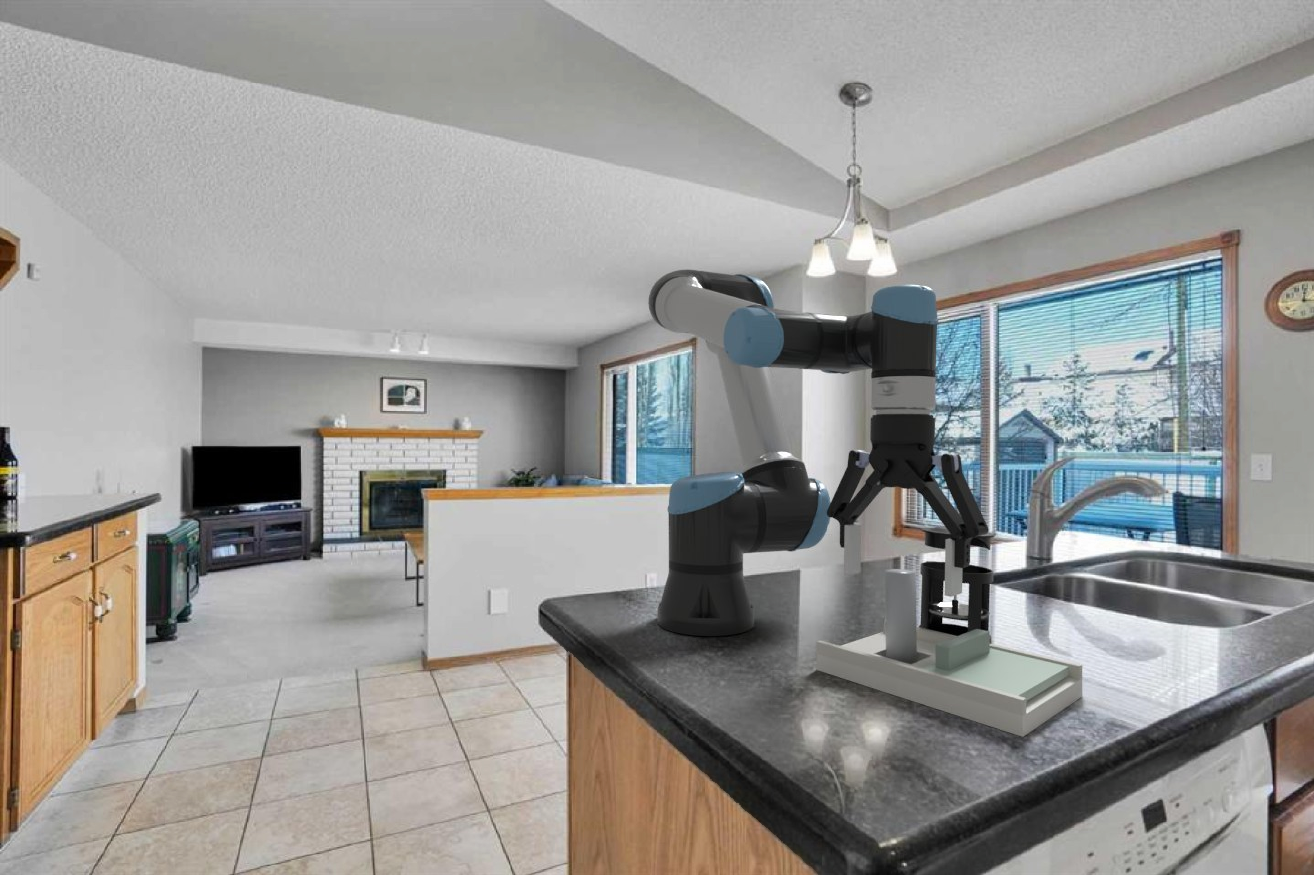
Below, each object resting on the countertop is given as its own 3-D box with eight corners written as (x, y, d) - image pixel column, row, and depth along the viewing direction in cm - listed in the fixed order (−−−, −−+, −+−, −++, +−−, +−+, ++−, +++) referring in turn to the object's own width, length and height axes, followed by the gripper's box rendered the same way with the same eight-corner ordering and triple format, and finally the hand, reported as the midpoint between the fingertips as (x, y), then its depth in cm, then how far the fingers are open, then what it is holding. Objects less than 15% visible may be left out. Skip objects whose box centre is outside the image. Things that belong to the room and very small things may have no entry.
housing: (816, 669, 81) (816, 641, 81) (886, 644, 91) (886, 619, 91) (1023, 736, 62) (1022, 700, 62) (1082, 696, 73) (1082, 664, 73)
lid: (920, 678, 72) (920, 646, 72) (977, 653, 80) (977, 624, 80) (1017, 706, 64) (1017, 670, 64) (1068, 675, 73) (1068, 644, 73)
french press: (1012, 669, 83) (1017, 489, 84) (943, 670, 82) (949, 487, 82) (957, 642, 95) (962, 484, 95) (897, 642, 94) (902, 482, 94)
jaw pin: (880, 668, 81) (879, 571, 81) (896, 662, 83) (894, 568, 83) (907, 676, 78) (905, 575, 78) (922, 669, 80) (921, 572, 81)
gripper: (802, 413, 88) (800, 569, 88) (992, 410, 69) (989, 610, 69) (835, 414, 93) (833, 562, 93) (1022, 412, 74) (1018, 599, 74)
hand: (899, 583), depth 81 cm, fingers open, 13 cm apart
